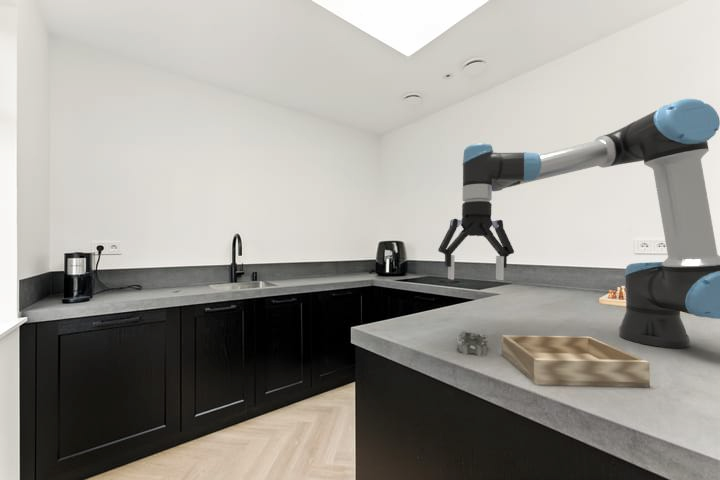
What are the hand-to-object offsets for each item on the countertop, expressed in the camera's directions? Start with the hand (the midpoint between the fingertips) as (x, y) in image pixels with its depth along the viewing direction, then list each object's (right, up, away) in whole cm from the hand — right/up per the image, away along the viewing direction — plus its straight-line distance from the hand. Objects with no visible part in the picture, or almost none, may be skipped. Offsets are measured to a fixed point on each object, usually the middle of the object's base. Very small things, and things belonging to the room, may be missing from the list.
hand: (475, 279), depth 83 cm
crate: (+16, -19, -13) cm, 28 cm away
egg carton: (-1, -20, 0) cm, 20 cm away
